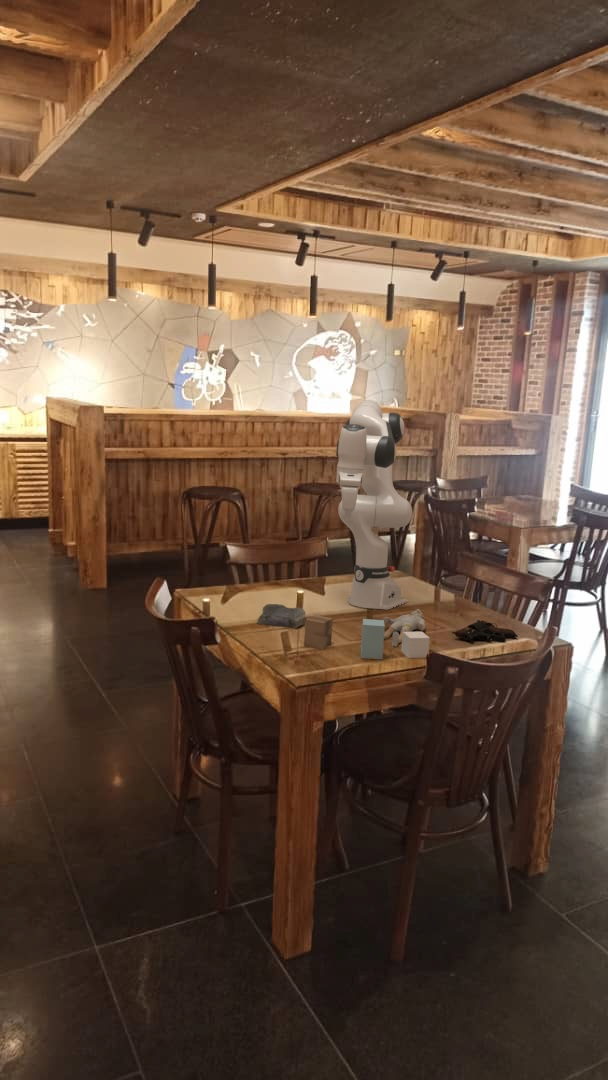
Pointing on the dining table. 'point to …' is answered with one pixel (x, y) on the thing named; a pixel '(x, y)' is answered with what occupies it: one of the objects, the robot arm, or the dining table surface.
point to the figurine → (404, 625)
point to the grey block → (415, 644)
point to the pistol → (485, 632)
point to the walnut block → (318, 631)
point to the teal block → (372, 638)
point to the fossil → (282, 616)
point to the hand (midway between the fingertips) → (347, 521)
